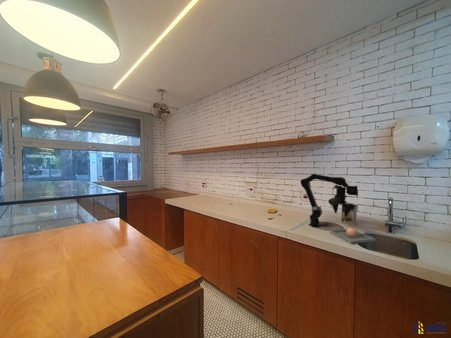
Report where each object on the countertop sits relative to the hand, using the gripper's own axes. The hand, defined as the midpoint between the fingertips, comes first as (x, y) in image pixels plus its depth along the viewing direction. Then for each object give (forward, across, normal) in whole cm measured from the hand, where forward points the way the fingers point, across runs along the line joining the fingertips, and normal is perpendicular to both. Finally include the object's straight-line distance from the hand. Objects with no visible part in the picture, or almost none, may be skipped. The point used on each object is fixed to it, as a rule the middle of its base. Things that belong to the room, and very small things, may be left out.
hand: (340, 214), depth 137 cm
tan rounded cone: (+11, +12, -2) cm, 17 cm away
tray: (+12, +12, -2) cm, 17 cm away
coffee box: (+12, -13, +20) cm, 27 cm away
